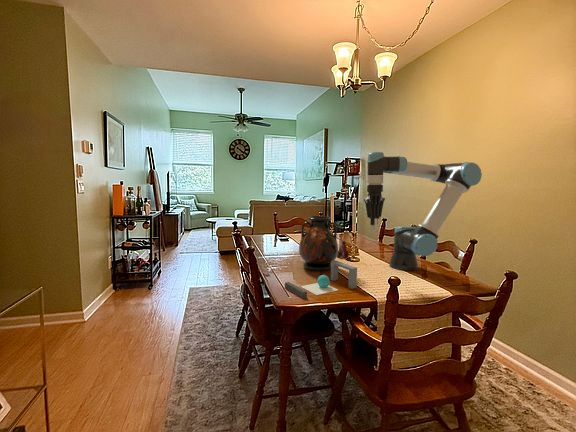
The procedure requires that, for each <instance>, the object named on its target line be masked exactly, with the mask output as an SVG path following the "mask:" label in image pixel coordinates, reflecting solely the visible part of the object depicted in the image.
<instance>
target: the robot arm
mask: <svg viewBox="0 0 576 432" xmlns="http://www.w3.org/2000/svg"><path fill="white" fill-rule="evenodd" d="M366 164H367V176H366V177H367V178H366V179H367V181H366V183H367V185H366V186H367V187H366V192H367V193H368V194H367V197H366V198H364V199H363V200H364V201H363V202H364V203H365V210H366V211H365V212H366V217H367V218H368V219H370V232H373V233H376V232H378V224H379V219H381V217H382V212H383V207H384V203H385V200H386V198H385V197H383V196H382V195H383V194H382V193H383V192H384V188H383V187H384V185H383V184H384V174H390V175H391V174H392V175H398V176H406V177H411V178H412V177H414V178H419V179H420V178H422V179H427V180H430V181H431V182H437V183H439V184H445V186H444V189H443V190H442V192H441V193H440V195H439V196H438V198H437V200H436V201H435V203H434V204H433V206H432V207H431V208H430V210H429V212H428V213H427V215H426V217H425V218H424V220H423V221H422V223H420V224H417V225H416V226H396V227H395V228H394V235H393V236H394V237H393V240H394V241H393V252H392V256H391V258H390V260H389V267H391V268H393V269H396V270H402V271H416V270H419V269H418V268H419V263H418V259H417V256H421V257H427V256H430V255H433V253H435V252H436V250H437V249H438V243H439V242H438V238H439V230H441V227H442V226H443V225H444V223H445V221H446V220H447V218H448V217H449V215H450V213H451V212H452V211H453V209H454V208H455V206H456V204H457V202H458V201H459V199H460V198H461V196H462V195H463V194H465V193H467V192H468V191H469V190H470V189H471V187H472V186H473V187H474V186H477V185H478V184H479V183H480V182H481V180H482V176H483V175H482V169H481V168H480V166H479V164H477V163H475V162H471V161H469V162H468V161H465V162H457V163H456V162H455V163H445V164H444V163H443V164H442V163H441V164H439V163H434V164H427V163H426V164H425V163H419V162H411V161H408V158H407V157H405V156H400V155H399V156H385V155H384V152H383V151H381V152H380V151H374V152H369V153H368V155H367V163H366ZM416 255H417V256H416Z"/></svg>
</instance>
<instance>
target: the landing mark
mask: <svg viewBox="0 0 576 432" xmlns="http://www.w3.org/2000/svg"><path fill="white" fill-rule="evenodd" d="M299 288H301V289H303V290H305V291H307V292H310V293H311V294H314V296H319V295H324V294H328V293H333V292H337V291H339V289H337V288H336V287H334V286H331V285H330V284H329V285H328V286H327V287H325V288H323V287H320V286H319V285H318V282H314V283H311V284H306V285H300V287H299Z"/></svg>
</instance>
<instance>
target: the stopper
mask: <svg viewBox="0 0 576 432" xmlns="http://www.w3.org/2000/svg"><path fill="white" fill-rule="evenodd" d="M284 289H286V290H288V291H290V292H291V293H293V294H294V295H296V296H298V297H300V298H302V299H306V298H307V297H308V290H306V289H304V288H302V287H299V286H298V285H295V284H294V283H292V282H290V281H286V282H284Z"/></svg>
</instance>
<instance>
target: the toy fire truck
mask: <svg viewBox="0 0 576 432" xmlns="http://www.w3.org/2000/svg"><path fill="white" fill-rule="evenodd" d="M346 244H347V243H346V241H344V240H343V239H341V238H340V239H339V241H338V255H337V257H336V259H337V258H341V257H343V258H345V259H347V257H348V258H349V257H350V256H349V255H350V254H349V253H350V252H349V250H347V249H346V248H347V247H346Z"/></svg>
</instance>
